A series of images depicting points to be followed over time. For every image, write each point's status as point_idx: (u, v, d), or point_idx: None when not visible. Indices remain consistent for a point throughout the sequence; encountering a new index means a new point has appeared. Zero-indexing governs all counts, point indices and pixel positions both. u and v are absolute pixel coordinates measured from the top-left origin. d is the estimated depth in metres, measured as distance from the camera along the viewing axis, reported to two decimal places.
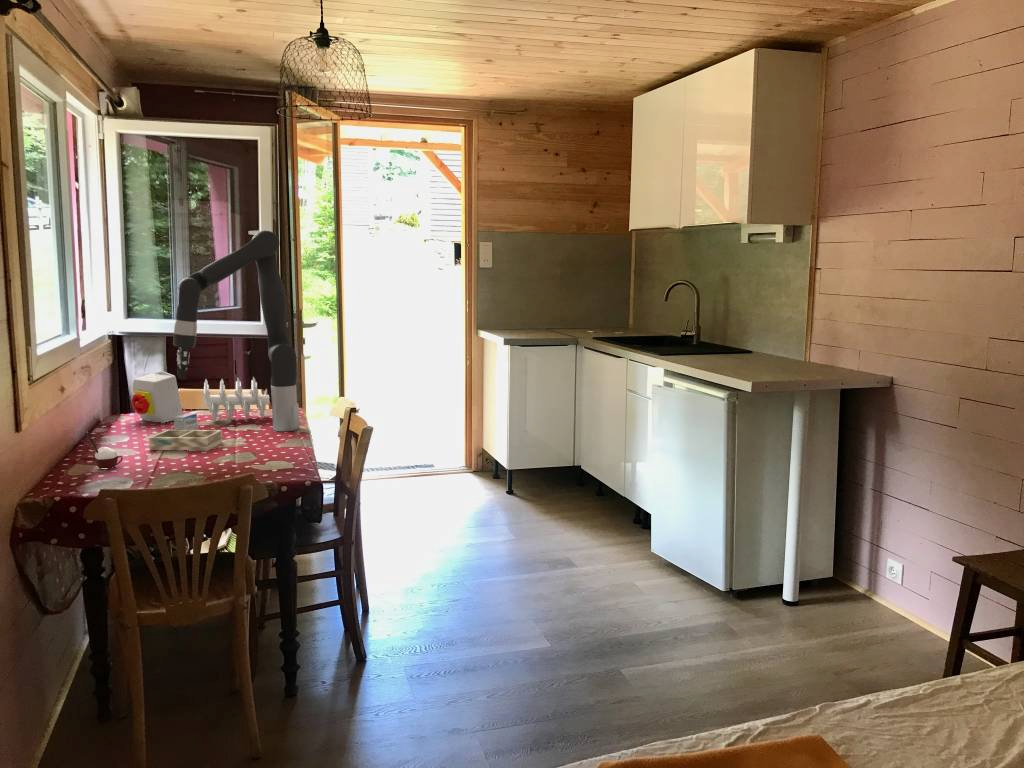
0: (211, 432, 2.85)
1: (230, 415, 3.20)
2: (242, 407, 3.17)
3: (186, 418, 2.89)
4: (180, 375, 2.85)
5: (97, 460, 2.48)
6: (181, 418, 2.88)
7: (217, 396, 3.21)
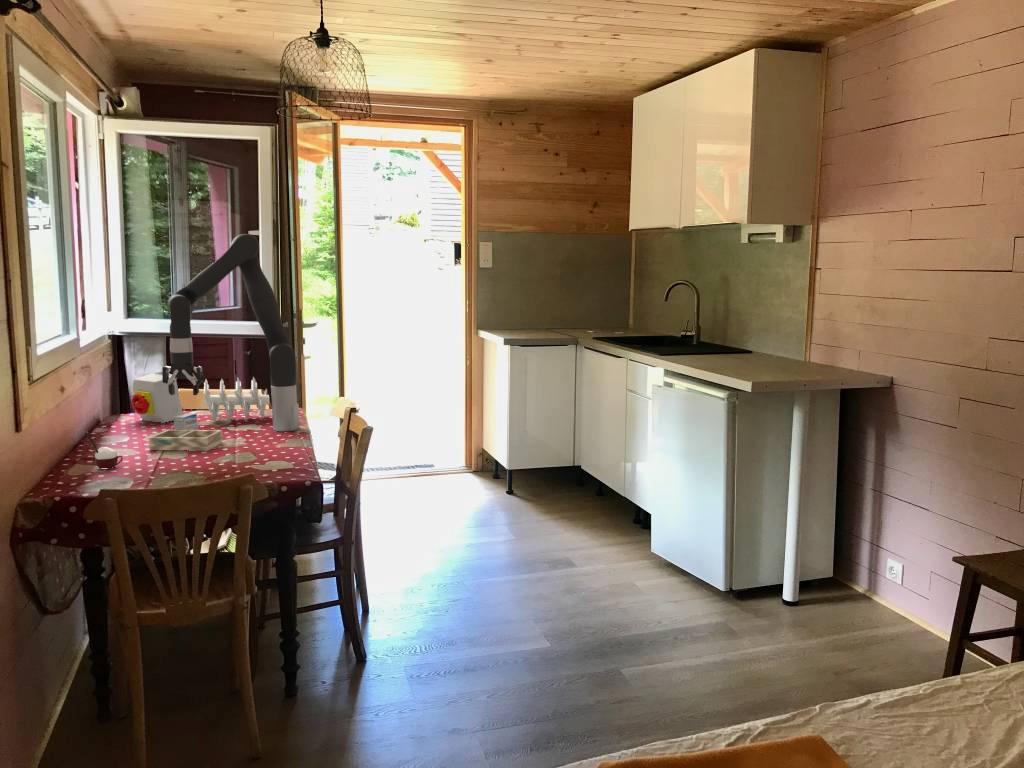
0: (211, 432, 2.85)
1: (230, 415, 3.20)
2: (242, 407, 3.17)
3: (186, 418, 2.89)
4: (195, 391, 2.90)
5: (97, 460, 2.48)
6: (181, 418, 2.88)
7: (217, 396, 3.21)
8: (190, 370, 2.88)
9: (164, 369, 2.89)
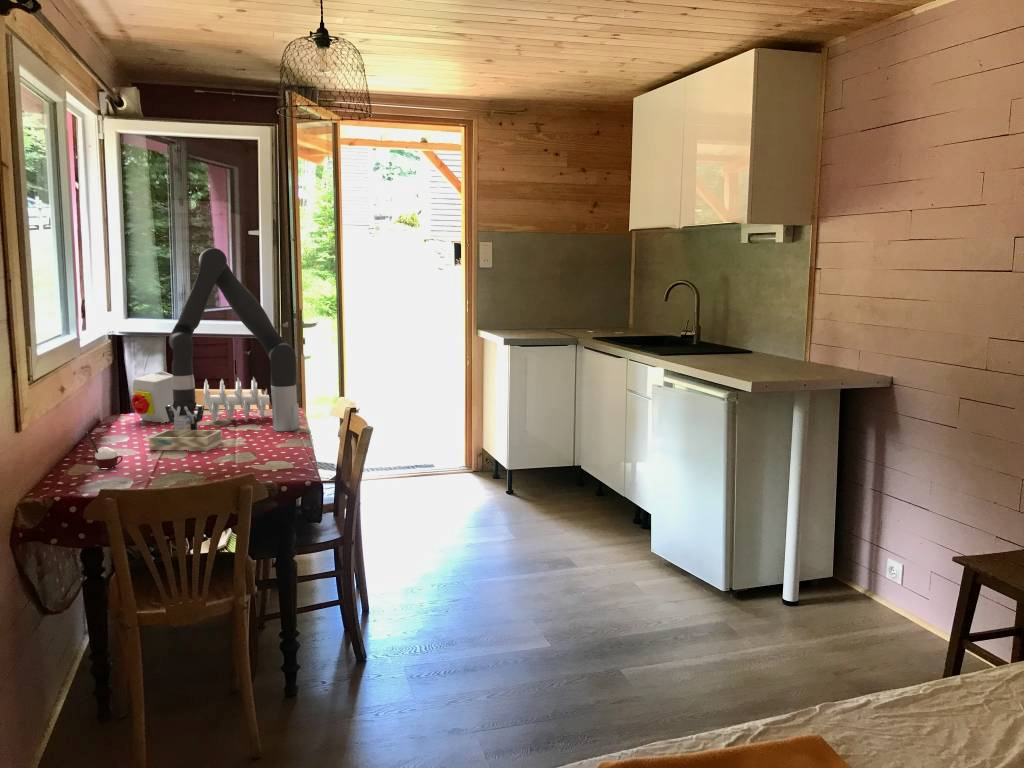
0: (211, 432, 2.85)
1: (230, 415, 3.20)
2: (242, 407, 3.17)
3: (186, 418, 2.89)
4: (193, 429, 2.92)
5: (97, 460, 2.48)
6: (181, 418, 2.88)
7: (217, 396, 3.21)
8: (192, 407, 2.90)
9: (167, 408, 2.91)
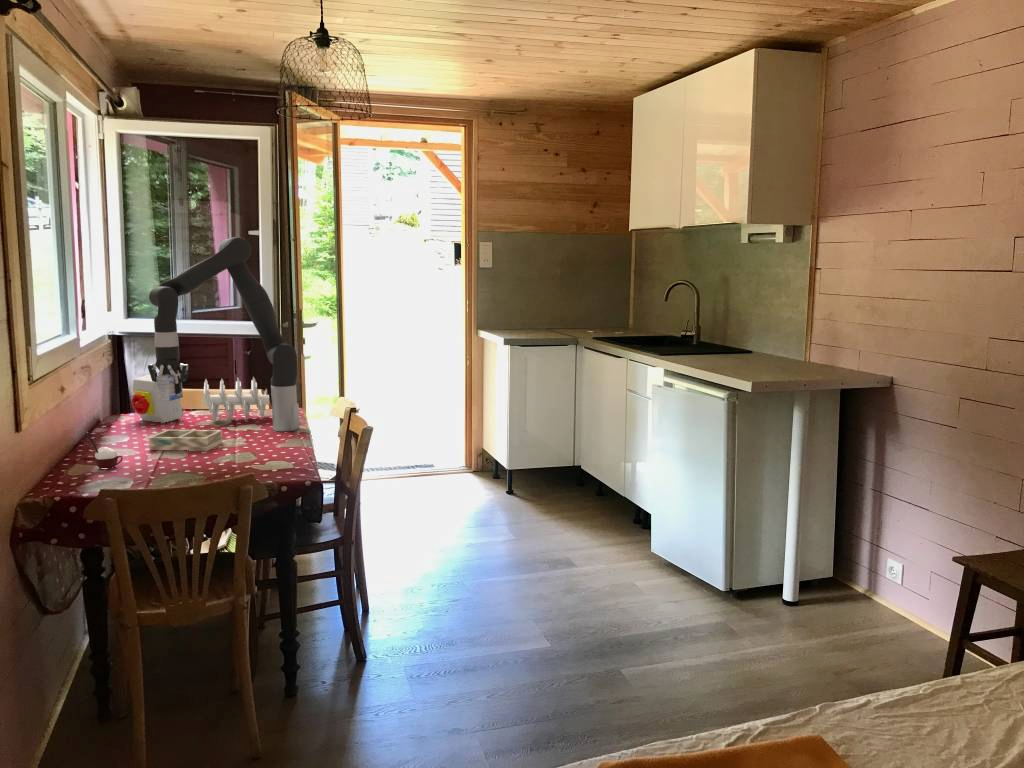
0: (211, 432, 2.85)
1: (230, 415, 3.20)
2: (242, 407, 3.17)
3: (170, 377, 2.74)
4: (177, 390, 2.77)
5: (97, 460, 2.48)
6: (164, 377, 2.73)
7: (217, 396, 3.21)
8: (176, 366, 2.75)
9: (150, 367, 2.75)
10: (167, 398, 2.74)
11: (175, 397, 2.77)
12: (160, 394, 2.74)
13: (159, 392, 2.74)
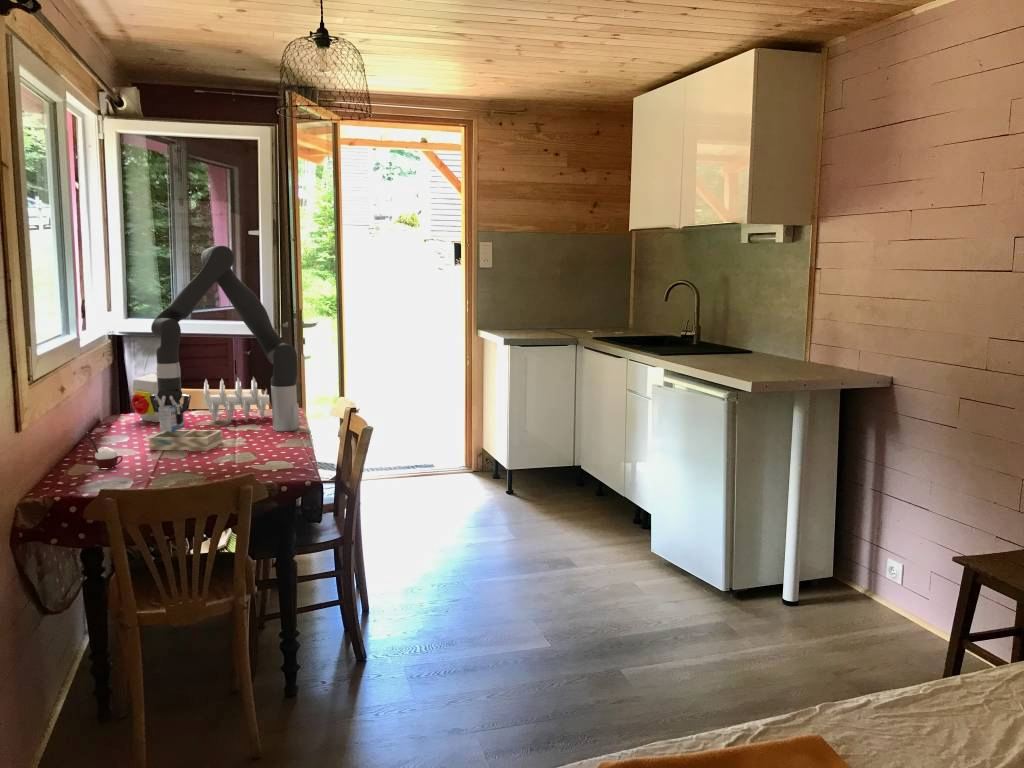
0: (211, 432, 2.85)
1: (230, 415, 3.20)
2: (242, 407, 3.17)
3: (172, 408, 2.76)
4: (179, 420, 2.78)
5: (97, 460, 2.48)
6: (166, 408, 2.75)
7: (217, 396, 3.21)
8: (177, 396, 2.77)
9: (152, 398, 2.77)
10: (169, 429, 2.75)
11: (177, 427, 2.79)
12: (162, 425, 2.76)
13: (161, 423, 2.76)
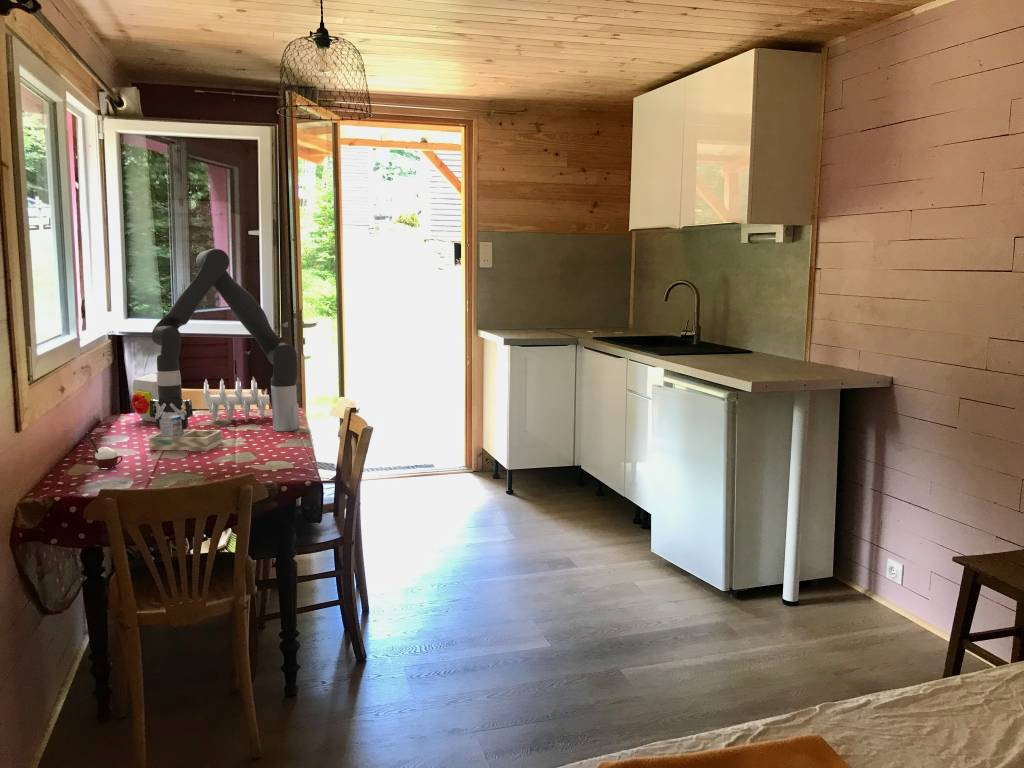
0: (211, 432, 2.85)
1: (230, 415, 3.20)
2: (242, 407, 3.17)
3: (173, 420, 2.77)
4: (184, 425, 2.78)
5: (97, 460, 2.48)
6: (168, 420, 2.75)
7: (217, 396, 3.21)
8: (178, 404, 2.77)
9: (151, 403, 2.77)
10: None
11: None
12: None
13: (163, 435, 2.76)
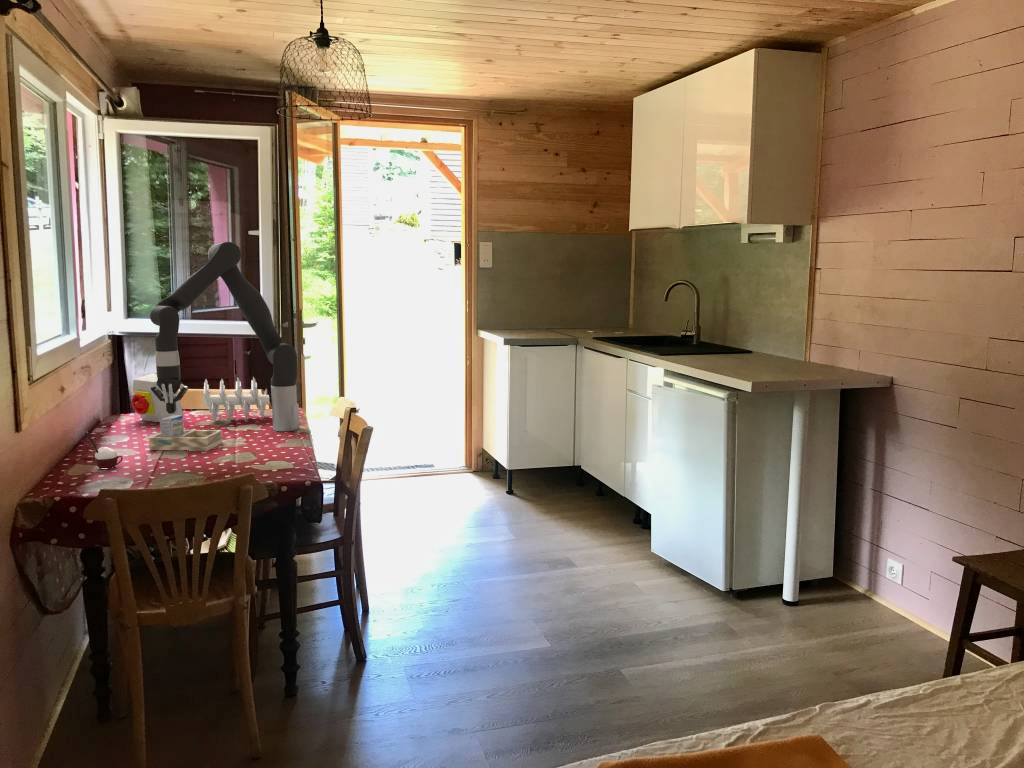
0: (211, 432, 2.85)
1: (230, 415, 3.20)
2: (242, 407, 3.17)
3: (173, 420, 2.77)
4: (172, 409, 2.78)
5: (97, 460, 2.48)
6: (168, 420, 2.75)
7: (217, 396, 3.21)
8: (176, 384, 2.76)
9: (153, 389, 2.76)
10: None
11: None
12: None
13: (163, 435, 2.76)
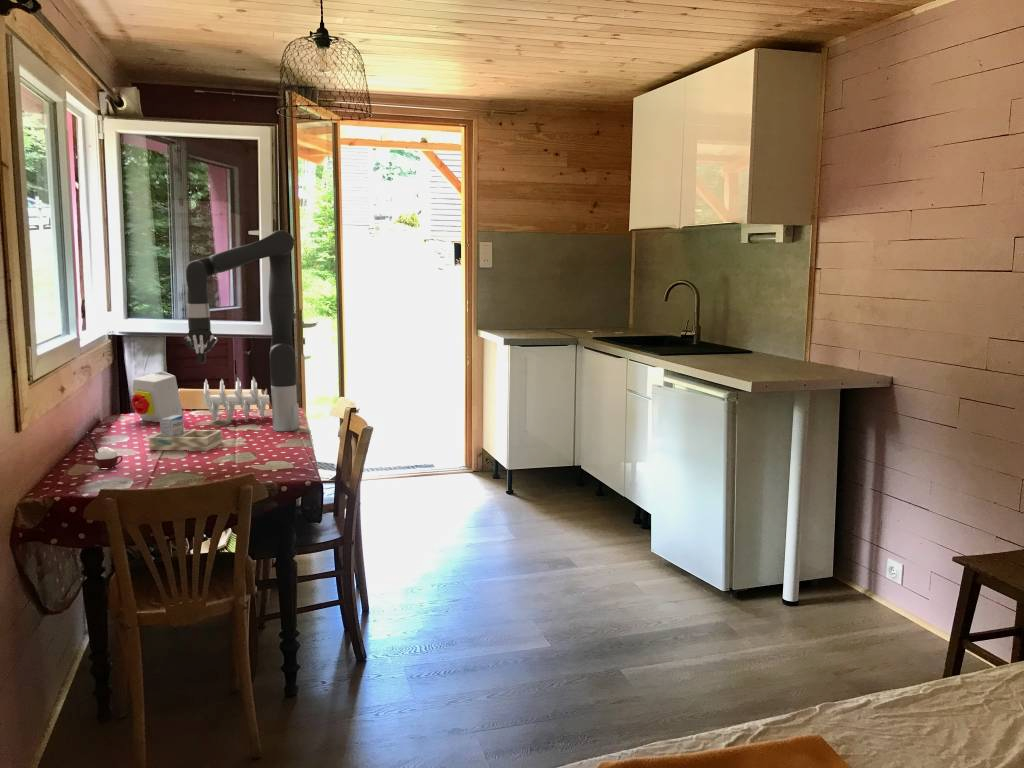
0: (211, 432, 2.85)
1: (230, 415, 3.20)
2: (242, 407, 3.17)
3: (173, 420, 2.77)
4: (202, 359, 2.93)
5: (97, 460, 2.48)
6: (168, 420, 2.75)
7: (217, 396, 3.21)
8: (206, 336, 2.91)
9: (185, 340, 2.92)
10: None
11: None
12: None
13: (163, 435, 2.76)
